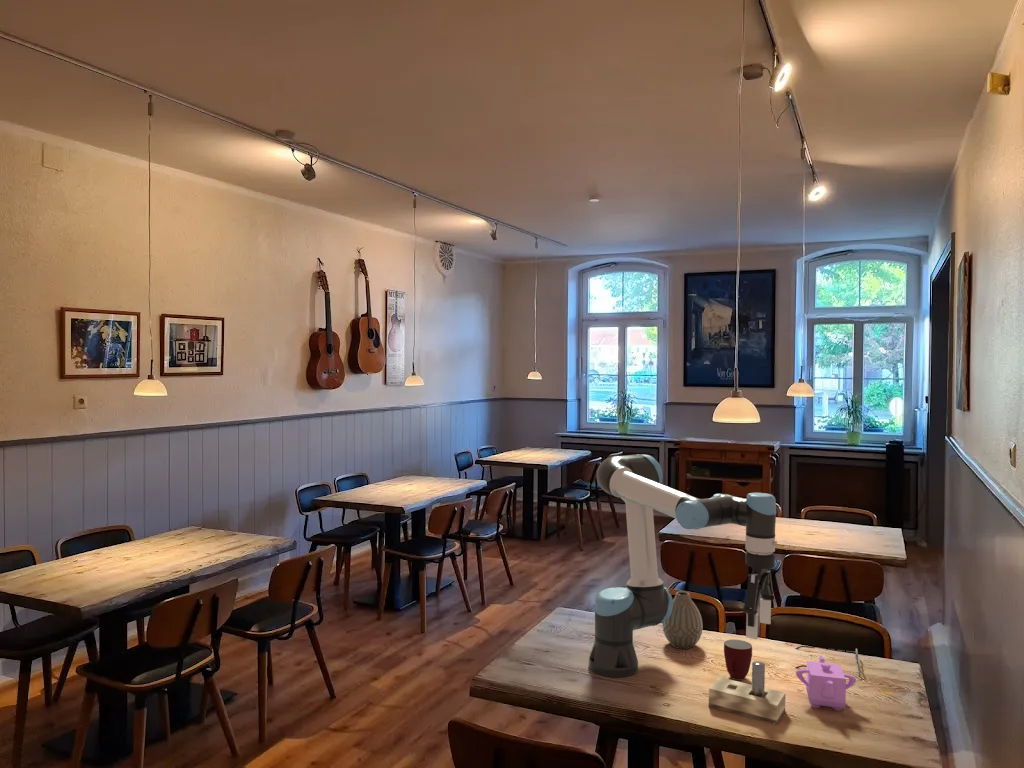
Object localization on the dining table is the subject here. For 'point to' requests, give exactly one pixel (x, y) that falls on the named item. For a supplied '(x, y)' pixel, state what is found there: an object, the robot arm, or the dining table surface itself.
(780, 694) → the block
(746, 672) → the mug
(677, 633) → the vase
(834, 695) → the teapot
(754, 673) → the pin
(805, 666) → the eyeglasses
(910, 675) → the dining table surface
